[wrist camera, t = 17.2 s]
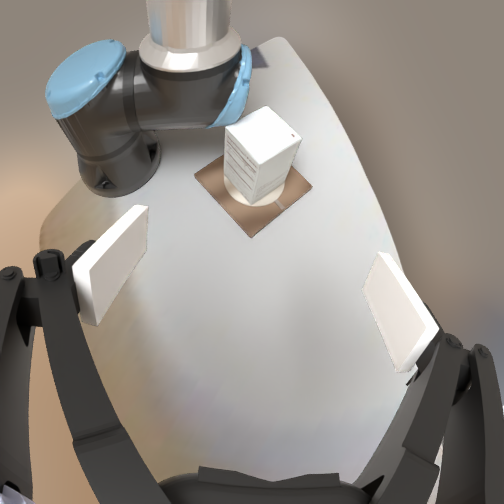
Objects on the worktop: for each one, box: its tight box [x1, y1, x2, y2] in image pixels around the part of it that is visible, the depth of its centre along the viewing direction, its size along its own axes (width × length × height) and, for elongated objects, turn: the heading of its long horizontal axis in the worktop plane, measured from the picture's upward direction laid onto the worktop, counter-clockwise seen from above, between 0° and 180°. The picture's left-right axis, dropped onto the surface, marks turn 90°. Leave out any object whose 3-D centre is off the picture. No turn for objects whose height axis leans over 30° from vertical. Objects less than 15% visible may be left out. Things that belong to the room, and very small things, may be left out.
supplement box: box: [224, 106, 302, 205], centre depth 41 cm, size 7×7×13 cm
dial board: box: [194, 155, 312, 238], centre depth 48 cm, size 14×14×1 cm
